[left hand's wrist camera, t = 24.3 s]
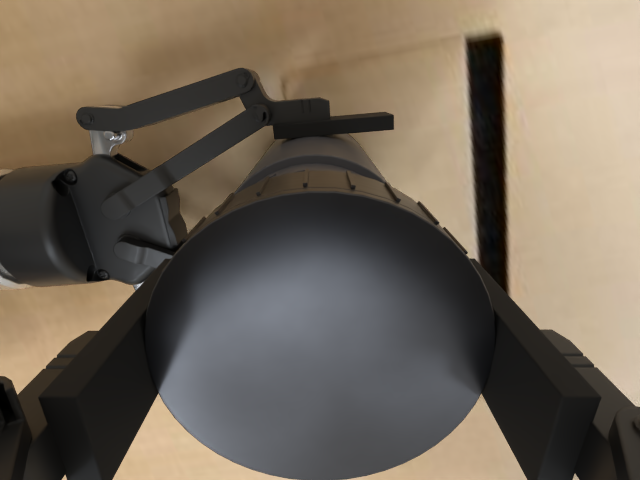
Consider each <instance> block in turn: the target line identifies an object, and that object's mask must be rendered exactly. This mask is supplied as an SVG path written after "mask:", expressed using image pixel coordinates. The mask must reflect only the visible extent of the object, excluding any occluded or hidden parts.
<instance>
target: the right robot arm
mask: <svg viewBox="0 0 640 480" xmlns="http://www.w3.org/2000/svg"><path fill="white" fill-rule="evenodd" d="M236 97H240V99H241V101H242V103H243V105H244V107H245V109H246V110H245V111H243V112H242V113H240V114H239V115H237V116H236V117H234V118H233V119H231V120H230V121H228V122H227V123H225V124H223V125H222V126H220V127H219V128H217V129H216V130H214V131H213V132H211V133H210V134H208V135H206V136H205V137H203V138H202V139H200V140H199V141H197V142H196V143H194V144H193V145H191V146H189V147H188V148H186V149H185V150H183V151H182V152H180V153H179V154H177V155H176V156H174V157H172V158H171V159H169V160H168V161H166V162H165V163H163V164H162V165H160V166H158V167H156V168H155V169H153V170H152V171H151V170H149V169H147V168H145V167H143V166H141V165H140V164H138V163H136V162H134V161H132V160H130V159H129V158H127V157H125V156H123V155H121V154H119V153H118V148H119V146H120V145H121V144H122V143H126V142H129V141H130V140H131V139H132V138H133V133H134V130H133V129H137V128H141V127H146V126H150V125H154V124H157V123H160V122H163V121H166V120H169V119H172V118H175V117H178V116H181V115H184V114H187V113H190V112H193V111H196V110H199V109H202V108H206V107H209V106H212V105H215V104H218V103H221V102H224V101H227V100H230V99H233V98H236ZM76 119H77V121H78V123H79V124H80V126H81V127H83V128H84V129H86V130H89V132H90V138H91V144H92V150H93V155H92V156H90V157H89V158H87V159H86V160H85V161H84V162H81V163H70V164H58V165H46V166H34V167H23V168H18V169H16V170H12V169H0V290H12V289H26V288H30V287H34V286H35V287H48V286H61V285H74V284H87V283H94V282H100V281H105V280H116V281H120V282H123V283H125V284H129V285H133V286H134V289H135V291H136V290H137V289H138V288H139V287H140V286H141V285H142V283H143V282H144V281H145V280H146V279H147V278H148V277H149V276H150V275H151V274H152V273H153V271H154V270H155V269H156V268H157V267H158V266H159V265H160V264H161V263H162V262H163V261H164V259H171V258H172V257H173V255H174V254H175V253H176V252H177V251H178V249H179V248H180V247H181V246H182V245H183V244H184V242H182V240H183V239H184V238H185V237H186V236H187V234H188V233H187V228H186V224H185V222H184V220H183V218H182V216H181V214H180V211H179V210H180V198H179V194H178V189H177V188H176V189H174V188H173V186H172V184H174V183H175V182H177V181H178V180H180V179H182V178H183V177H185V176H186V175H188V174H190V173H191V172H193V171H194V170H196V169H197V168H199V167H201V166H202V165H204V164H205V163H207V162H209V161H210V160H212V159H213V158H215V157H216V156H218V155H220V154H221V153H223V152H224V151H226V150H228V149H229V148H231V147H232V146H234V145H235V144H237V143H239V142H240V141H242V140H243V139H245V138H247V137H248V136H250V135H251V134H253V133H254V132H256V131H258V130H259V129H261V128H262V127H264V126H270V125H273V131H274V139H275V140H277V139H289V138H300V137H312V136H324V135H336V134H347V133H359V132H371V131H383V130H394V115H392V114H389V113H387V112H379V113H367V114H355V115H344V116H332V117H330V108H329V100H326V99H323V98H320V97H317V98H306V99H295V100H283V101H275V100H272V99H271V98H269V97H268V96H267V94H266V93H265V91H264V89H263V86H262V84H261V82H260V78H259V76H258V74H257V73H256V72H254V71H252V70H249V69H245V68H238V69H235V70H232V71H229V72H226V73H223V74H220V75H217V76H214V77H211V78H208V79H205V80H202V81H199V82H196V83H193V84H190V85H187V86H184V87H181V88H178V89H175V90H172V91H169V92H166V93H163V94H160V95H157V96H154V97H151V98H148V99H145V100H142V101H139V102H136V103H133V104H130V105H128V106H118V105H102V106H91V107H82V108H80V109H79V110H78V111H77V113H76Z"/></svg>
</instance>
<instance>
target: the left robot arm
mask: <svg viewBox="0 0 640 480" xmlns="http://www.w3.org/2000/svg"><path fill="white" fill-rule="evenodd" d="M170 260H171V259H164V261H163V262H162V263H161V264H160V265H159V266H158V267H157V268H156V269H155V270H154V271H153V273H152V274H151V275H150V276H149V277H148V278H147V279H146V280H145V281H144V282H143V283H142V285H141V286H140V287H139V288H138V289H137V290H136V291H135V292H134V293H133V294H132V295H131V296H130V298H129V299H128V300H127V301H126V302H125V303H124V304H123V305H122V306H121V307H120V308H119V310H118V311H117V312H116V313H115V314H114V315H113V316H112V317H111V318H110V319H109V320H108V322H107V323H106V324H105V325H104V326H103V327H102V328H101V329H100V330H99V331H87V332H86V333H84V334H82V335H81V336H79V337H78V338H76V339H74V340H73V341H71V342H70V343H69V344H68V345H67V346H66V347H65V348H64V349H63V350H62V351H61V352H60V353H59V354H58V355H57V358H54V359H53V360H52V361H51V362H50V363H49V364H48V365H47V366H46V369H43V370H42V371H41V372H40V373H39V374H38V375H37V376H36V377H35V378H34V379H33V380H32V381H31V382H30V383H29V384H28V385H27V386H26V387H25V388H24V389H23V390H22V391H21V392H20V393H19V394H18V395H17V393H16V391H15V388H14V385H13V383H12V381H11V380H10V379H8V378H7V377H5V376H0V480H62V478H63V477H64V475H66V477H67V480H112V479H113V477H114V475H115V474H116V472H117V470H118V468H119V466H120V464H121V462H122V460H123V459H124V457H125V455H126V453H127V451H128V449H129V447H130V445H131V444H132V442H133V440H134V438H135V436H136V434H137V432H138V430H139V429H140V427H141V425H142V423H143V421H144V419H145V417H146V415H147V413H148V412H149V410H150V408H151V406H152V404H153V402H154V400H155V398H156V397H157V395H158V391H157V389H156V387H155V385H154V382H153V380H152V377H151V374H150V371H149V367H148V362H147V357H146V352H145V339H144V328H145V320H146V312H147V308H148V305H149V301H150V298H151V295H152V291H153V289H154V287H155V285H156V283H157V281H158V279H159V277H160V275H161V274H160V273H161V271H162V270H163V269H164V267H165V266H166V265H167V264H168V263H169V261H170ZM470 261H471V262H472V264H473V265H474V267H475V268H476V270H477V271H478V273H479V274H480V276H481V278H482V280H483V283H484V285H485V287H486V289H487V292H488V294H489V297H490V301H491V305H492V308H493V312H494V319H495V329H496V340H495V350H494V356H493V360H492V365H491V370H490V374H489V377H488V379H487V382H486V385H485V387H484V389H483V391H482V395H483V397H484V399H485V401H486V403H487V405H488V406H489V408H490V410H491V412H492V414H493V416H494V418H495V420H496V421H497V423H498V425H499V427H500V429H501V431H502V433H503V435H504V436H505V438H506V440H507V442H508V444H509V446H510V448H511V450H512V451H513V453H514V455H515V457H516V459H517V461H518V463H519V465H520V467H521V468H522V470H523V472H524V474H525V476H526V478H527V480H572V479H573V477H574V474H576V475H577V477H578V478H579V480H640V407H636V406H635V405H634V404H633V403H632V402H631V401H630V400H629V399H628V398H627V397H626V396H625V395H624V394H623V393H622V392H621V391H620V390H619V389H618V388H617V387H616V386H615V385H614V384H613V383H612V382H611V381H610V380H609V379H608V378H607V377H606V376H605V375H604V374H603V373H602V372H601V371H600V370H599V369H598V368H595V367H594V364H593V363H592V362H591V361H590V360H589V359H588V358H587V357H586V356H583V353H582V352H581V351H580V350H579V349H578V348H577V347H576V346H575V345H574V344H573V343H572V342H571V341H570V340H568V339H566V338H565V337H563V336H561V335H560V334H558V333H556V332H555V331H553V330H540V329H539V328H538V327H537V326H536V325H535V324H534V323H533V322H532V321H531V320H530V319H529V317H528V316H527V315H526V314H525V313H524V312H523V311H522V310H521V309H520V308H519V307H518V305H517V304H516V303H515V302H514V301H513V300H512V299H511V298H510V297H509V296H508V295H507V294H506V292H505V291H504V290H503V289H502V288H501V287H500V286H499V285H498V284H497V283H496V282H495V280H494V279H493V278H492V277H491V276H490V275H489V274H488V273H487V272H486V271H485V270H484V268H483V267H482V266H481V265H480V264H479V263H478V262H477V261H476V260H475V259H470Z"/></svg>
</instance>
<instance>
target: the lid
mask: <svg viewBox="0 0 640 480" xmlns="http://www.w3.org/2000/svg"><path fill="white" fill-rule="evenodd" d="M182 242H184V244H183V245H182V246H181V247H180V248H179V249H178V251H177V252H176V253H175V254H174V255H173V257H172V258H171V260H170V261H169V263H168V264H167V265H166V266H165V267H164V269H163V270H162V271H161V273H160V274H161V275H160V277H159V279H158V281H157V283H156V285H155V287H154V289H153V291H152V295H151V298H150V301H149V305H148V308H147V312H146V320H145V328H144V339H145V352H146V357H147V362H148V367H149V371H150V374H151V377H152V380H153V382H154V385H155V387H156V389H157V391H158V393H159V395H160V397H161V399H162V400H163V402H164V404H165V405H166V406H167V408H168V409H169V411H170V412H171V413H172V415H173V416H174V418H175V419H176V420H177V421H178V422H179V423H180V424H181V425H182V426H183V427H184V428H185V429H186V430H187V431H188V432H189V433H190V434H191V435H192V436H194V437H195V438H196V439H197V440H198V441H199V442H201V443H202V444H203V445H205V446H206V447H208V448H209V449H211V450H212V451H214V452H215V453H217V454H219V455H221V456H223V457H225V458H226V459H228V460H230V461H232V462H234V463H237V464H239V465H242V466H244V467H247V468H249V469H252V470H255V471H258V472H262V473H265V474H269V475H273V476H278V477H283V478H288V479H297V480H343V479H351V478H357V477H362V476H367V475H371V474H375V473H378V472H382V471H385V470H388V469H391V468H393V467H396V466H398V465H401V464H403V463H405V462H407V461H409V460H411V459H413V458H415V457H417V456H419V455H421V454H423V453H424V452H426V451H427V450H429V449H430V448H432V447H434V446H435V445H436V444H438V443H439V442H440V441H441V440H443V439H444V438H445V437H446V436H448V435H449V434H450V433H451V432H452V431H453V430H454V429H455V428H456V427H457V426H458V425H459V424H460V423H461V422H462V421H463V420H464V418H465V417H466V416H467V415H468V413H469V412H470V411H471V409H472V408H473V407H474V405H475V404H476V402H477V400H478V398H479V396H480V395H481V393H482V391H483V389H484V387H485V385H486V382H487V379H488V377H489V374H490V370H491V365H492V360H493V356H494V350H495V340H496V329H495V319H494V312H493V308H492V305H491V301H490V297H489V294H488V292H487V289H486V287H485V285H484V283H483V280H482V278H481V276H480V274H479V273H478V271H477V270H476V268H475V267H474V265H473V264H472V262H471V261H470V259H469V258H468V256H467V255H466V254H467V253H468V252H467V251H466V250H465V249H464V248H463V246H462V245H461V244H460V243H459V242H458V241H457V240H456V239H455V238H454V237H453V236H452V234H451V233H450V232H449V231H448V230H447V229H446V228H445V227H444V228H442V227H441V226H440V225H439V222H438V221H437V219H436V218H435V217H434V216H433V215H432V214H431V213H430V212H429V211H428V209H427V208H426V207H425V206H424V205H423V204H422V203H421V202H420V201H419V202H418V203H416V202H415V201H414V200H413V199H412V198H410V197H408V196H407V195H405V194H403V193H402V192H400V191H398V190H397V189H395V188H393V187H391V185H390V184H389V183H388V182H385V184H384V183H381V182H379V181H377V180H374V179H371V178H367V177H364V176H360V175H357V174H352V173H351V172H350V171H348V170H347V171H346V173H345V172H338V171H309V169H305V171H303V172H295V173H288V174H284V175H280V176H276V177H272V178H269V176H267V177H265V179H264V180H263V181H261V182H259V183H256V184H254V185H251V186H249V187H247V188H245V189H244V190H242V191H240V192H238V193H237V194H235V195H234V193H232V194H230V195H229V196H228V197H227V199H226V200H225V201H224V202H223V203H222V204H221V205H220V206H219V207H217V208H216V209H215V210H214V211H213V212H212V213H211V214H210V215H209V216H208V217H207V218H205V217H203V218H202V219H201V220H200V221H199V222H198V224H197V225H196V226H195V227H194V228H193V229H192V230H191V231H190V232H189V233H188V234H187V236H186V237H185V238H184V239H183V240H182Z"/></svg>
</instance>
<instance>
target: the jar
mask: <svg viewBox="0 0 640 480" xmlns="http://www.w3.org/2000/svg"><path fill="white" fill-rule="evenodd" d="M305 169H309V171H338V172H345V173H346V171H347V170H348V171H350V172H351V173H352V174H357V175H360V176H364V177H367V178H371V179H374V180H377V181H379V182H381V183H384V184H385V182H387V181H386V180H385V179H384V177H383V176H382V175H381V173H380V172H379V171H378V169H377V168H376V166H375V165H374V164H373V162H372V161H371V160H370V158H369V157H368V156H367V154H366V153H365V152H364V150H363V149H362V148H361V146H360V145H359V144H358V142H357V141H356V140H355V139H354V138H352V137H351V136H350V135H349V134H336V135H324V136H312V137H300V138H289V139H277V140H275V142H274V143H273V144H272V145H271V146H270V148H269V149H268V150H267V151H266V153H265V154H264V155H263V157H262V158H261V159H260V161H259V162H258V163H257V164H256V166H255V167H254V168H253V170H252V171H251V172H250V173H249V175H248V176H247V177H246V179H245V180H244V181H243V182H242V184H241V185H240V186H239V188H238V189H237V190H236V191H235V193H234V195H235V194H237V193H238V192H240V191H242V190H244V189H245V188H247V187H249V186H251V185H254V184H256V183H259V182H261V181H263V180H264V179H265V177H267V176H269V178H272V177H276V176H280V175H284V174H288V173H295V172H303V171H305Z"/></svg>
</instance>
